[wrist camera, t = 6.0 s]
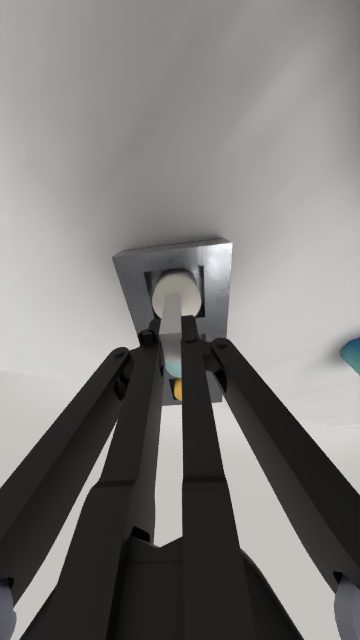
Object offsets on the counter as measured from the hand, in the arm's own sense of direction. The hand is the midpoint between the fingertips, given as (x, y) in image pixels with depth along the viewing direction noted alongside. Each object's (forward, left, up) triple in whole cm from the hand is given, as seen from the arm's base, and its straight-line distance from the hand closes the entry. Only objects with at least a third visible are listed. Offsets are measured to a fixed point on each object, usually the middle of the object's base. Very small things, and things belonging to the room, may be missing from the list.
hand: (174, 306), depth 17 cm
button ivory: (0, 0, -4) cm, 4 cm away
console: (+9, 0, -6) cm, 11 cm away
